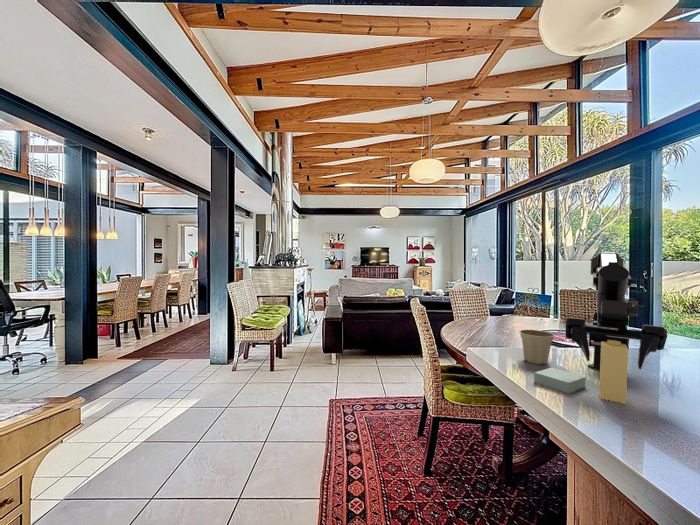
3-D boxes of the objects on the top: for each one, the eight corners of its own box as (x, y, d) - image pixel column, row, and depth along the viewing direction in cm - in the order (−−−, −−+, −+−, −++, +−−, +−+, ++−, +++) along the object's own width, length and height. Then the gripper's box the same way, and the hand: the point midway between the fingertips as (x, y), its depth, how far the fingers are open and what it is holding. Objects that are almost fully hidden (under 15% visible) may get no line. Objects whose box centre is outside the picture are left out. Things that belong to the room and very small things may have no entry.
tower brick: (599, 392, 80) (601, 337, 80) (623, 397, 78) (625, 340, 78) (600, 398, 77) (602, 341, 77) (626, 404, 74) (628, 344, 74)
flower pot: (559, 367, 99) (560, 337, 98) (523, 364, 100) (524, 335, 100) (547, 358, 108) (548, 330, 108) (514, 355, 110) (515, 328, 110)
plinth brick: (551, 377, 90) (551, 367, 90) (585, 387, 84) (585, 376, 84) (534, 382, 86) (534, 372, 86) (568, 393, 79) (568, 382, 79)
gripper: (567, 285, 87) (564, 336, 77) (667, 290, 76) (677, 350, 67) (567, 312, 93) (564, 363, 84) (658, 321, 83) (667, 379, 74)
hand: (613, 363), depth 77 cm, fingers open, 9 cm apart
